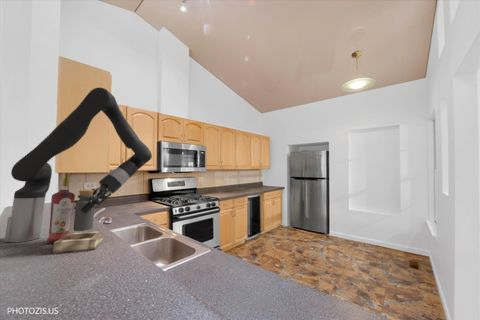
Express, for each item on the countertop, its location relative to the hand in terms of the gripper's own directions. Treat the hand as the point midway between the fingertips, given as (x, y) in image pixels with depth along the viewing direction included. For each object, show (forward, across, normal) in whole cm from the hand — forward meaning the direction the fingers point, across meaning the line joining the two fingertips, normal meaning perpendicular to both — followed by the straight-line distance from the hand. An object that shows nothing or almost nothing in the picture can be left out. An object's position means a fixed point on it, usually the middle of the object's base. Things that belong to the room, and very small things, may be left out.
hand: (79, 210), depth 75 cm
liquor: (+11, -13, +8) cm, 19 cm away
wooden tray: (+9, 0, +11) cm, 14 cm away
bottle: (+4, 0, +6) cm, 8 cm away
